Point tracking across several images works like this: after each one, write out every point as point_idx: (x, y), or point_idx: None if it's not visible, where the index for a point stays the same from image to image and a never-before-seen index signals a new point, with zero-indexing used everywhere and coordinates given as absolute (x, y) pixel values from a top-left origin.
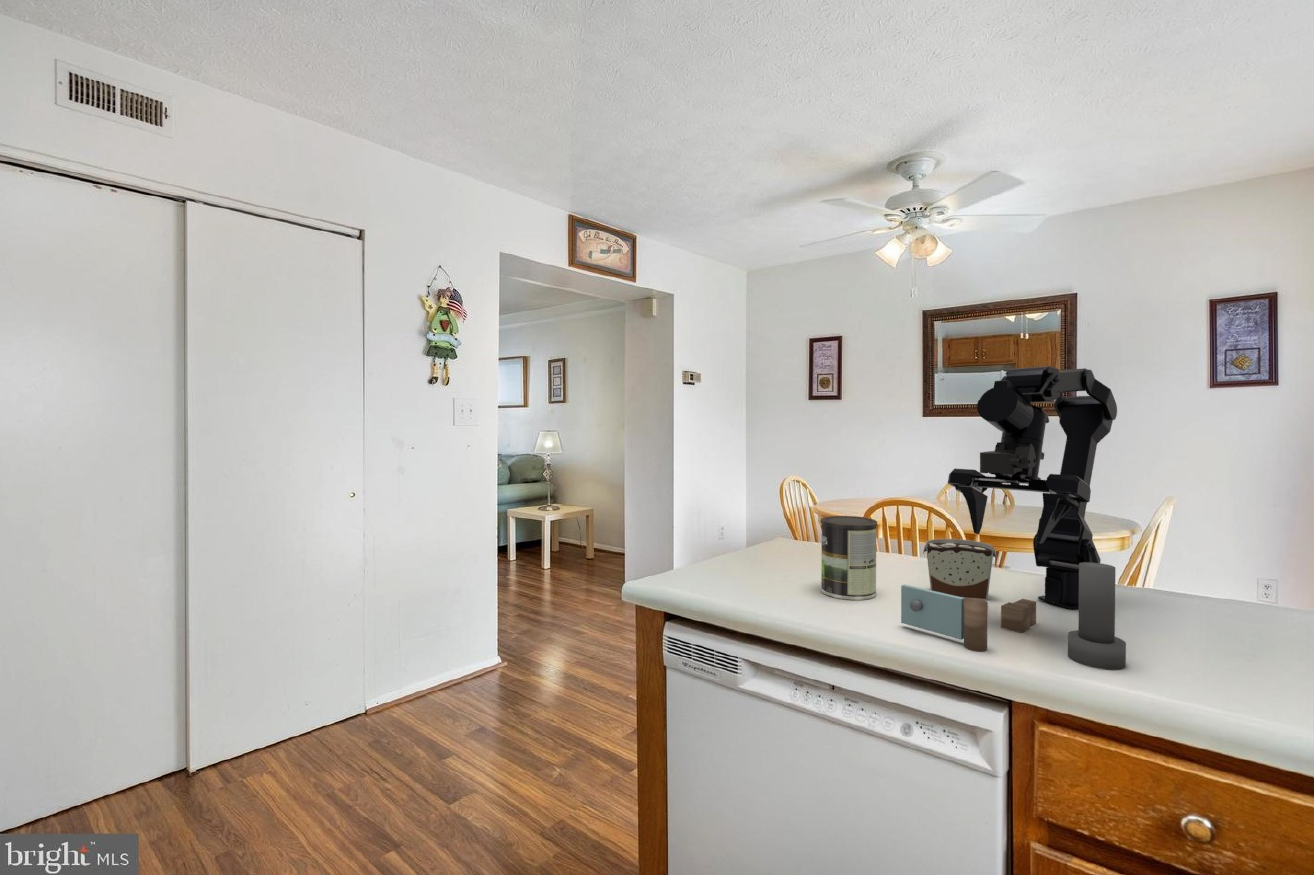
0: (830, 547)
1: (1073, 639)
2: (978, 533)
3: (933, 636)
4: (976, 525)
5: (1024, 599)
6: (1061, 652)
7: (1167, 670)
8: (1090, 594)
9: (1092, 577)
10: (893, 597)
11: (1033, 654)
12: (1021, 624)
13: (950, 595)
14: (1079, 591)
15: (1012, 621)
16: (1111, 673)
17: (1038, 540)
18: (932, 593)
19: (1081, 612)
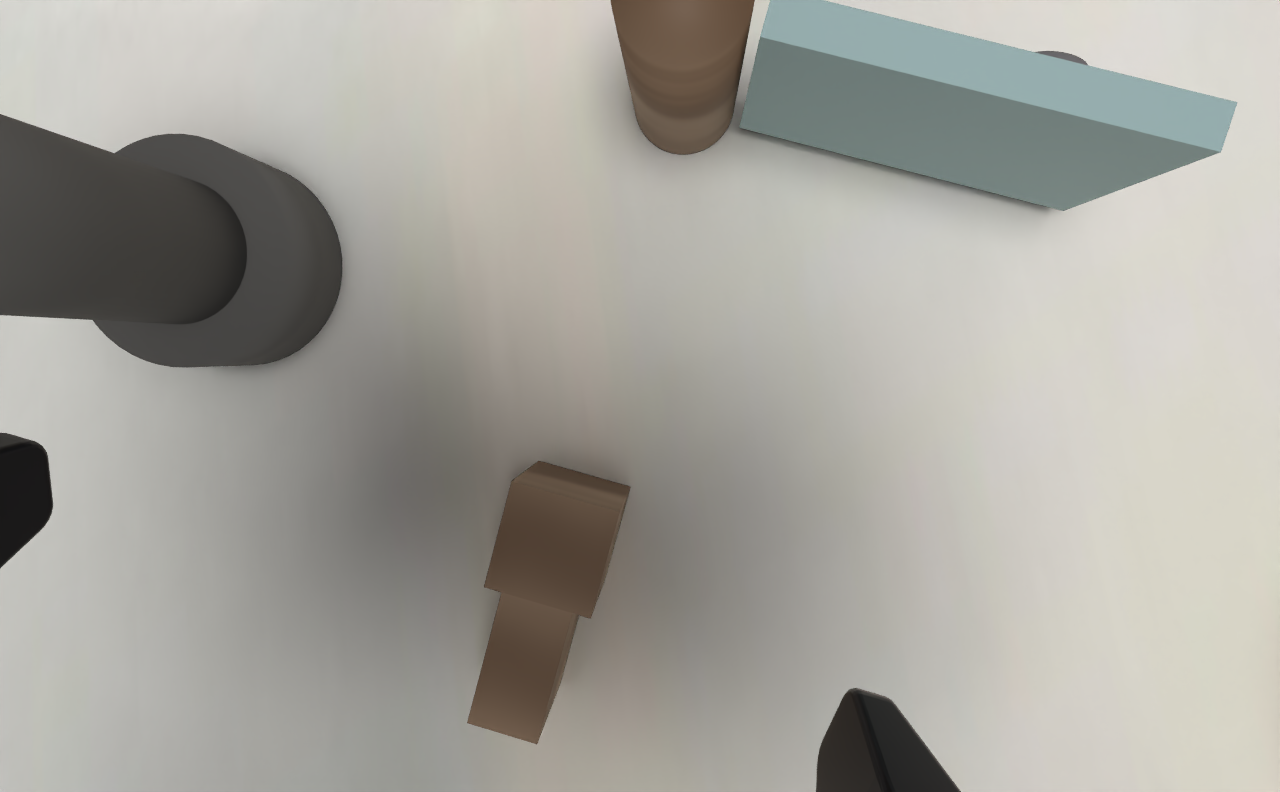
0: None
1: (262, 177)
2: (825, 742)
3: None
4: (881, 760)
5: (527, 731)
6: (366, 281)
7: None
8: None
9: None
10: (1240, 722)
11: (459, 176)
12: (530, 467)
13: (857, 42)
14: (32, 170)
15: (570, 479)
16: (188, 134)
17: (12, 435)
18: (981, 45)
19: (131, 178)
